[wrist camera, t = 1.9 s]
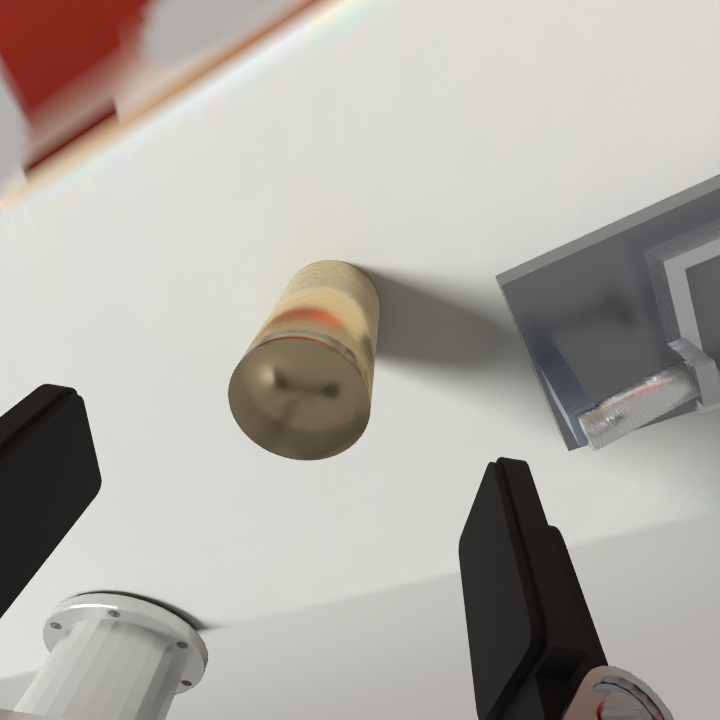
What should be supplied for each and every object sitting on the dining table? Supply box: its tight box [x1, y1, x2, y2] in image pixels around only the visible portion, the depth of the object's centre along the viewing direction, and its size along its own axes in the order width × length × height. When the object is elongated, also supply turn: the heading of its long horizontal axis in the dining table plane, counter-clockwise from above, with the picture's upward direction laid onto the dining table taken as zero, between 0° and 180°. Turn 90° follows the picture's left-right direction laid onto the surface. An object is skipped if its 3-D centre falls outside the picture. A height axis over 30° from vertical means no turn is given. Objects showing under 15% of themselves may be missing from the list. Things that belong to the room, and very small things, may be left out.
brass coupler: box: [228, 260, 380, 460], centre depth 17 cm, size 4×4×8 cm
